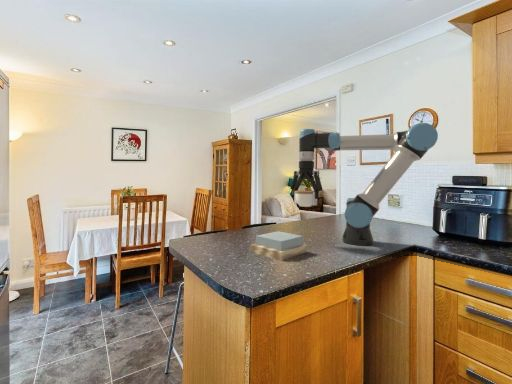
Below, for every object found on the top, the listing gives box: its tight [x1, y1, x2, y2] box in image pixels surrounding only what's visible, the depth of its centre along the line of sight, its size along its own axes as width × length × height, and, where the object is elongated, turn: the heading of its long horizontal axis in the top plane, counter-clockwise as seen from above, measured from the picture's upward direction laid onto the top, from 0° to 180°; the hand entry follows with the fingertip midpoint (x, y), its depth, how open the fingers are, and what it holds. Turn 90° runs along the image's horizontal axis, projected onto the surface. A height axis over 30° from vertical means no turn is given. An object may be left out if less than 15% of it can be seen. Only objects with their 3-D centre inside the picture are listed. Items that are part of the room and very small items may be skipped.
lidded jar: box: [295, 187, 314, 208], centre depth 139 cm, size 11×11×9 cm
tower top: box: [255, 230, 304, 251], centre depth 124 cm, size 15×15×4 cm
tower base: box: [249, 243, 307, 261], centre depth 124 cm, size 18×18×4 cm
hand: (305, 204), depth 139 cm, fingers closed on lidded jar, 11 cm apart
